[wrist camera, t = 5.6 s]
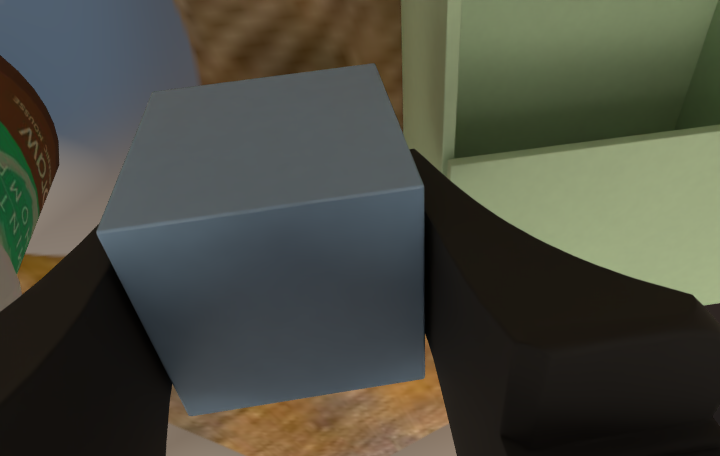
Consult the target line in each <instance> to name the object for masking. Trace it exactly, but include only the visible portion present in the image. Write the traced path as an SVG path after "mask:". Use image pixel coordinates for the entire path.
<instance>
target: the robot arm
mask: <svg viewBox="0 0 720 456" xmlns="http://www.w3.org/2000/svg"><path fill="white" fill-rule="evenodd" d="M409 150H410V152H411V155H412V157H413V160H414V162H415V165H416V167H417V170H418V172H419V175H420V177H421V180H422V182H423V185H424V241H425V334H426V337H427V340H428V343H429V346H430V349H431V352H432V356H433V359H434V363H435V367H436V371H437V375H438V379H439V383H440V387H441V391H442V395H443V399H444V403H445V407H446V411H447V415H448V420H449V424H450V428H451V432H452V436H453V440H454V445H455V449H456V453H457V456H720V426H719V425H718V423H717V422H716V421H715V419H714V418H713V415H714V413H715V412H716V410H717V408H718V407H719V405H720V324H719V323H718V322H717V320H716V319H715V318H714V317H713V316H712V315H711V314H710V312H709V311H708V310H707V309H706V308H705V307H704V306H703V305H702V304H701V303H700V302H699V301H698V300H697V299H696V298H695V297H694V295H692V294H689V293H685V292H681V291H678V290H674V289H671V288H667V287H664V286H660V285H657V284H653V283H650V282H646V281H642V280H639V279H635V278H632V277H629V276H626V275H623V274H621V273H618V272H615V271H612V270H609V269H607V268H604V267H601V266H598V265H596V264H593V263H590V262H588V261H585V260H583V259H580V258H578V257H576V256H573V255H571V254H569V253H567V252H564V251H562V250H560V249H558V248H556V247H553V246H551V245H549V244H547V243H545V242H543V241H541V240H539V239H537V238H535V237H533V236H531V235H530V234H528V233H526V232H524V231H522V230H521V229H519V228H517V227H515V226H514V225H512V224H510V223H508V222H507V221H505V220H504V219H502V218H500V217H499V216H497V215H496V214H494V213H493V212H491V211H490V210H488V209H487V208H485V207H484V206H483V205H481V204H480V203H478V202H477V201H475V200H474V199H473V198H471V197H470V196H469V195H468V194H466V193H465V192H464V191H463V190H461V189H460V188H459V187H458V186H456V185H455V184H454V183H453V182H452V181H450V180H449V179H448V178H447V177H446V176H445V175H444V174H442V173H441V172H440V171H439V170H438V169H437V168H436V167H434V166H433V165H432V164H431V163H430V162H429V161H428V160H427V159H426V158H425V157H424V156H422V155H421V154H420V153H419V152H418V151H417V150H415V149H409ZM99 224H100V223H99ZM98 226H99V225H97V227H96V228H94V230H92V232H91V233H90V234H89V235H88V236H87V237H86V238H85V239H84V240H83V241H82V242H81V243H80V244H79V245H78V246H77V247H75V248H74V249H73V250H72V251H71V252H70V253H69V254H68V255H67V256H66V257H65V258H64V259H62V260H61V261H60V262H59V263H58V264H57V265H56V266H55V267H54V268H53V269H52V270H51V271H50V272H48V273H47V274H46V275H45V276H44V277H43V278H42V279H41V280H39V281H38V282H37V283H36V284H35V285H34V286H32V287H31V288H30V289H29V290H27V291H26V292H25V293H24V294H23V295H21V296H20V297H19V298H17V299H16V300H15V301H13V302H12V303H11V304H10V305H8V306H7V307H6V308H4V309H3V310H2V311H1V312H0V456H166V440H167V428H168V415H169V403H170V395H171V389H172V382H171V380H170V378H169V376H168V374H167V372H166V370H165V368H164V366H163V364H162V362H161V360H160V358H159V356H158V354H157V352H156V350H155V348H154V346H153V344H152V342H151V340H150V338H149V336H148V334H147V332H146V330H145V328H144V326H143V324H142V322H141V321H140V319H139V317H138V315H137V313H136V311H135V309H134V307H133V305H132V303H131V301H130V299H129V297H128V295H127V293H126V291H125V289H124V287H123V285H122V283H121V281H120V279H119V277H118V275H117V273H116V271H115V269H114V267H113V265H112V263H111V261H110V259H109V257H108V256H107V254H106V252H105V250H104V248H103V246H102V244H101V242H100V240H99V238H98V236H97V233H96V232H97V229H98Z"/></svg>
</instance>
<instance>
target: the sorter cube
mask: <svg viewBox="0 0 720 456" xmlns="http://www.w3.org/2000/svg"><path fill="white" fill-rule="evenodd" d="M96 233H97V236H98V238H99V240H100V242H101V244H102V246H103V248H104V250H105V252H106V254H107V256H108V257H109V259H110V261H111V263H112V265H113V267H114V269H115V271H116V273H117V275H118V277H119V279H120V281H121V283H122V285H123V287H124V289H125V291H126V293H127V295H128V297H129V299H130V301H131V303H132V305H133V307H134V309H135V311H136V313H137V315H138V317H139V319H140V321H141V322H142V324H143V326H144V328H145V330H146V332H147V334H148V336H149V338H150V340H151V342H152V344H153V346H154V348H155V350H156V352H157V354H158V356H159V358H160V360H161V362H162V364H163V366H164V368H165V370H166V372H167V374H168V376H169V378H170V380H171V382H172V384H173V386H174V387H175V389H176V391H177V393H178V395H179V397H180V399H181V401H182V403H183V405H184V407H185V409H186V411H187V413H188V415H189V416H196V415H202V414H208V413H214V412H221V411H227V410H233V409H239V408H245V407H252V406H258V405H264V404H270V403H276V402H283V401H289V400H295V399H301V398H307V397H314V396H320V395H326V394H332V393H338V392H345V391H351V390H357V389H363V388H369V387H376V386H382V385H388V384H394V383H400V382H407V381H413V380H419V379H424V378H425V241H424V185H423V182H422V180H421V177H420V175H419V172H418V170H417V167H416V165H415V162H414V160H413V157H412V155H411V152H410V150H409V147H408V145H407V142H406V140H405V137H404V135H403V132H402V130H401V127H400V125H399V122H398V120H397V117H396V115H395V112H394V110H393V107H392V105H391V102H390V100H389V97H388V95H387V92H386V90H385V87H384V85H383V82H382V80H381V77H380V75H379V72H378V70H377V67H376V65H375V64H374V63H372V64H364V65H357V66H349V67H341V68H333V69H326V70H318V71H310V72H302V73H295V74H287V75H279V76H271V77H264V78H256V79H248V80H240V81H233V82H225V83H217V84H209V85H202V86H194V87H187V88H179V89H171V90H163V91H156V92H152V94H151V97H150V99H149V102H148V104H147V107H146V109H145V112H144V114H143V117H142V119H141V122H140V124H139V127H138V129H137V131H136V134H135V137H134V139H133V142H132V144H131V147H130V149H129V151H128V154H127V156H126V159H125V161H124V164H123V166H122V169H121V171H120V174H119V176H118V179H117V181H116V184H115V186H114V189H113V191H112V194H111V196H110V199H109V201H108V204H107V206H106V209H105V211H104V214H103V216H102V219H101V221H100V224H99V226H98V229H97V232H96Z"/></svg>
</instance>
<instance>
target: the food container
mask: <svg viewBox="0 0 720 456" xmlns="http://www.w3.org/2000/svg"><path fill="white" fill-rule="evenodd" d="M58 145H59V144H58V137H57V134H56V130H55V126H54V123H53V121H52V119H51V117H50V115H49V112H48V110H47V108H46V106H45V105H44V103H43V102H42V100H41V99H40V97H39V96H38V94H37V93H36V91H35V90H34V88H33V87H32V86H31V85H30V84H29V83H28V82H27V80H26V79H25V78H24V77H23V76H22V75H21V74H20V73H19V72H18V71H17V70H16V69H15V68H14V67H13V66H12V65H11V64H10V63H8V62H7V61H6V60H5V59H4V58H3V57H2V56H1V55H0V312H1V311H2V310H3V309H4V308H6V307H7V306H8V305H10V304H11V303H12V302H13V301H15V300H16V299H17V298H19V297H20V296H21V295H22V293H21V287H20V282H19V279H18V277H17V273H18V270H19V267H20V265H21V262H22V260H23V257H24V254H25V252H26V249H27V247H28V244H29V241H30V239H31V236H32V234H33V231H34V229H35V226H36V223H37V221H38V218H39V216H40V213H41V210H42V208H43V205H44V203H45V200H46V198H47V195H48V192H49V190H50V187H51V185H52V182H53V179H54V177H55V174H56V172H57V169H58V166H59V146H58Z"/></svg>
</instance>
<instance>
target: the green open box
mask: <svg viewBox="0 0 720 456" xmlns="http://www.w3.org/2000/svg"><path fill="white" fill-rule="evenodd" d="M401 31H402V86H403V135H404V137H405V140H406V142H407V145H408V147H409V149H415V150H417V151H418V152H419V153H420V154H421V155H422V156H424V157H425V158H426V159H427V160H428V161H429V162H430V163H431V164H432V165H433V166H434V167H436V168H437V169H438V170H439V171H440V172H441V173H442V174H444V175H445V176H446V177H447V178H448V179H449V180H450V181H452V182H453V183H454V184H455V185H456V186H458V187H459V188H460V189H461V190H463V191H464V192H465V193H466V194H468V195H469V196H470V197H471V198H473V199H474V200H475V201H477V202H478V203H480V204H481V205H483V206H484V207H485V208H487V209H488V210H490V211H491V212H493V213H494V214H496V215H497V216H499V217H500V218H502V219H504V220H505V221H507V222H508V223H510V224H512V225H514V226H515V227H517V228H519V229H521V230H522V231H524V232H526V233H528V234H530V235H531V236H533V237H535V238H537V239H539V240H541V241H543V242H545V243H547V244H549V245H551V246H553V247H556V248H558V249H560V250H562V251H564V252H567V253H569V254H571V255H573V256H576V257H578V258H580V259H583V260H585V261H588V262H590V263H593V264H596V265H598V266H601V267H604V268H607V269H609V270H612V271H615V272H618V273H621V274H623V275H626V276H629V277H632V278H635V279H639V280H642V281H646V282H650V283H653V284H657V285H660V286H664V287H667V288H671V289H674V290H678V291H681V292H685V293H689V294H692V295H694V297H695V298H696V299H697V300H698V301H699V302H700V303H701V304H702V305H709V304H716V303H720V0H401Z"/></svg>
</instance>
